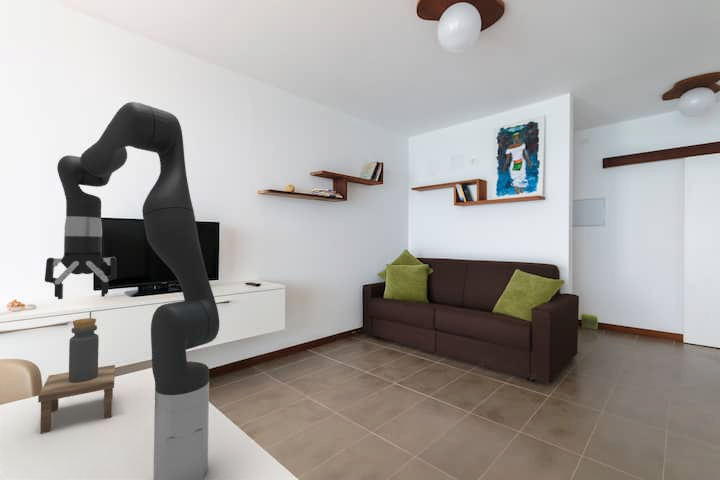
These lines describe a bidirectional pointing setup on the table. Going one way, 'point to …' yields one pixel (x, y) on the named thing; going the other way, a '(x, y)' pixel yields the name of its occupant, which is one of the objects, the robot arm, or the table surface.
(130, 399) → the table surface
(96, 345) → the bottle
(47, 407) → the wooden bench
